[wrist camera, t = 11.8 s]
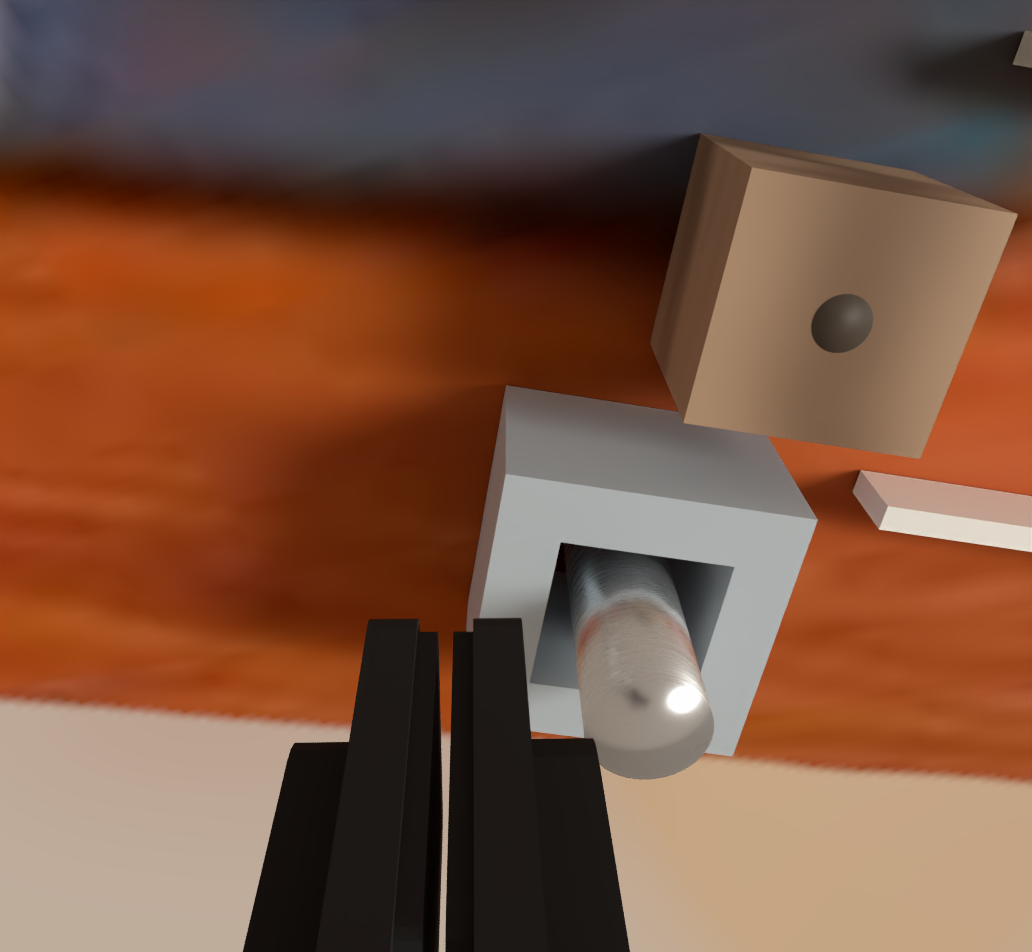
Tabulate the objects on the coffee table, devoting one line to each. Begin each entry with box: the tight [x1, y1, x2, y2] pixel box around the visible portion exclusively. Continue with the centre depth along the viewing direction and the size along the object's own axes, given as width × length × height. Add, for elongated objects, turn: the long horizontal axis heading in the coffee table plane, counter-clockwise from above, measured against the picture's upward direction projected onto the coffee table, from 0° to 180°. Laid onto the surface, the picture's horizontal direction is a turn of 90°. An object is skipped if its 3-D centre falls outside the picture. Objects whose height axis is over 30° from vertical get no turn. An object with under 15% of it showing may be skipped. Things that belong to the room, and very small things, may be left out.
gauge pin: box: [563, 543, 714, 779], centre depth 26 cm, size 3×3×10 cm
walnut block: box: [650, 133, 1018, 459], centre depth 24 cm, size 6×6×6 cm
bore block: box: [466, 385, 818, 756], centre depth 28 cm, size 8×8×6 cm
